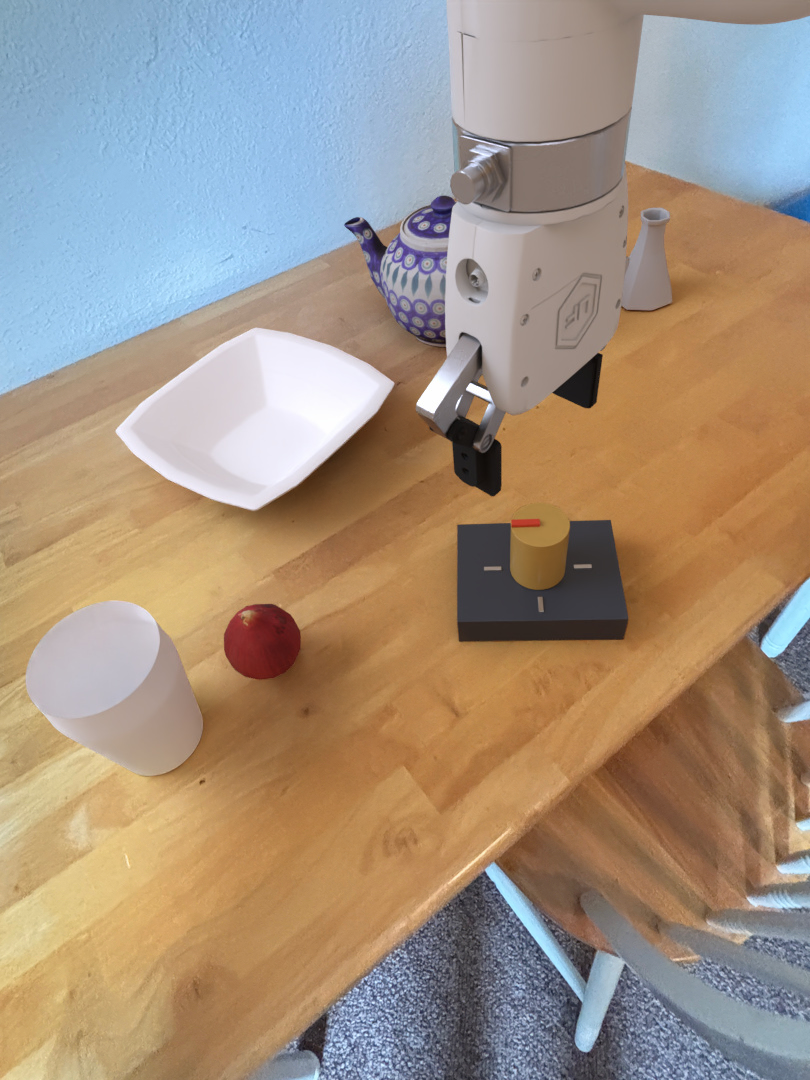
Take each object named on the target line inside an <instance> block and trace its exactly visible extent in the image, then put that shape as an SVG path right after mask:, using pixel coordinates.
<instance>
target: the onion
mask: <svg viewBox="0 0 810 1080" xmlns="http://www.w3.org/2000/svg"><path fill="white" fill-rule="evenodd" d="M301 647H302V635H301V630H300V628H299V626H298V624H297V622H296V620H295V619H294V617H293V616H292V614H290V613H289V612H287V611H286V610H285V609H283V608H282V607H280V606H278V605H276V604H275V603H254V604H251V605H247V606H245V607H243V608H242V609H240V610H238V611H237V612H236V613H235V614H234V615H233V616H232V618H231V619H230V620H229V622H228V624H227V626H226V629H225V631H224V633H223V650H224V655H225V657H226V659H227V660H228V663H229V664H230V665H231V666H230V667H232V668H233V670H235V672H237V673H239V674H240V675H241V676H243V677H244V678H248V679H253V680H257V681H265V680H272V679H277V678H278V677H280V676H282V675H285V674H286V673H287V672H288V671H289V670H290V669H291V668H292V667H293V666H294V665H295V663H296V661H297V659H298V657H299V655H300V652H301V650H302V648H301Z"/></svg>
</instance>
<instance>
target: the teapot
mask: <svg viewBox="0 0 810 1080" xmlns="http://www.w3.org/2000/svg"><path fill="white" fill-rule="evenodd" d="M456 203H457V201H455V199H454V198H453V197H451V196H450V195H439V196H437V197H435V198H434V199H432V201H431V202H430V204H427V205H424V206H421V207H419V208H417V209H415V210H413V211H411V212H410V213H409V214H408V215H407V216H406V217H404V219H403V220H402V221H401V224H400V227H399V233H398V234H396V235H395V236H394V238H393V239H392V240H391V241H390V243H389V244H388V246H386V245H385V244H384V243H383V242H382V241H381V239H380V237H379V236H378V235H377V233H376V231H375V230H374V228H373V227H372V225H371V224H370V222H368V221H367V219H365V218H364V217H361V216H355V217H353V218H350V219H348V220H347V221H346V222H345V223H344V224H343V226H344V227H345V228H346V229H347V230H348V231H350V233H352V234H353V236H354V237H355V239H357V241H358V242H359V243H358V244H359V245H360V248H361V251H362V254H363V257H364V260H365V263H366V266H367V269H368V273H369V276H370V278H371V281H372V282H373V284H374V287H376V289H377V291H378V292H379V294H380V295H381V296H382V297H383V298H384V299H385V303H386V305H387V307H388V309H389V311H390V313H391V315H392V317H393V319H394V320H395V321H396V322H397V324H398V325H399V326H400V327H401V328H402V329H404V330H405V331H407V333H409V334H411V335H412V336H414V337H415V338H416V340H418V341H419V342H420V343H423V344H425V345H428V346H431V347H432V346H433V347H440V348H446V331H445V289H446V267H447V252H448V241H449V231H450V223H451V215H452V207H453V206H454V205H455V204H456Z"/></svg>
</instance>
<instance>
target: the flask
mask: <svg viewBox="0 0 810 1080" xmlns="http://www.w3.org/2000/svg"><path fill="white" fill-rule="evenodd" d="M670 221H671V212H670V211H669V210H667V209H666V208H664V207H648V208H646V209H643V210H641V211H640V222H641V226H640V231H639V233H638V237H637V239H636V242H635V244H634V247H633V248H632V250H631V252H630V253H629V256H628V257H629V259H630V261H629V266H628V269H627V271H626V274H625V277H624V285H623V294H622V303H621V307H623V309H625V310H627V311H654V310H656V309H657V310H658V309H659V308H662V307H664V306H665V307H666V306H667V305H670V304H672V303H673V288H672V283H671V278H670V273H669V268H668V262H667V261H668V260H667V255H666V249H665V233H666V228H667V224H668V223H670Z"/></svg>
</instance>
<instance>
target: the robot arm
mask: <svg viewBox="0 0 810 1080" xmlns="http://www.w3.org/2000/svg"><path fill="white" fill-rule="evenodd" d="M445 5H446V7H445V8H446V25H447V36H448V37H447V41H448V58H449V61H448V62H449V82H450V83H449V84H450V85H449V86H450V87H449V88H450V107H451V132H452V151H453V170H454V172H453V174H452V175H451V178H450V180H449V181H450V190H451V193H452V195H453V197H454V198H455V199H454V200H456V202H457V203H456V204H455V205H454V206H453V207H452V215H451V223H450V231H449V241H448V252H447V267H446V289H445V331H446V347H445V349H446V351H445V352H446V358H445V360H444V362H443V363H442V365H441V366H440V368H439V369H438V370H437V372H436V374H435V375H434V376H433V378H432V380H431V381H430V382H429V384H428V385H427V387H426V388H425V390H424V392H423V393H422V394H421V396H420V397H419V399H418V400H417V402H416V404H415V412H416V414H417V415H418V417H420V419H421V420H422V421H423V422H424V423H425V424H426V425H427V426H428V429H429V431H431V432H433V433H435V434H437V435H439V436H440V437H442V438H444V439H446V440H448V441H449V442H451V445H452V459H453V472H454V474H455V475H456V476H457V477H458V479H459V480H460V481H461V482H462V483H464V484H466V485H467V486H469V487H472V488H473V487H474V488H476V489H477V490H480V491H482V492H483V493H485V494H487V495H489V496H491V497H496V496H497V495H498V494H499V493H500V492H501V490H502V481H503V480H502V473H503V472H502V465H503V464H502V463H503V461H502V460H503V459H502V456H503V455H502V454H503V453H502V448H503V447H502V446H503V445H502V443H501V442H500V441H499V440H498V439H496V436H497V434H498V431H499V429H500V426H501V425H502V422H503V420H504V418H505V415H506V413H507V414H509V415H510V416H519V415H522V414H524V413H526V412H529V411H530V410H532V409H534V408H535V407H537V406H538V405H539V404H541V403H542V402H543V401H544V400H545V399H547V398H548V397H549V396H550V395H551V394H552V395H555V396H558V397H559V398H561V399H564V400H566V401H568V402H570V403H573V404H575V405H577V406H579V407H582V408H583V409H591V408H592V407H594V406H595V405H596V404H597V402H598V395H599V394H598V393H599V386H600V380H601V379H600V378H601V373H602V372H601V371H602V364H603V357H604V356H603V355H604V354H602V353H600V352H602V351H604V350H605V348H606V347H607V345H608V344H609V342H610V341H611V340H612V338H613V337H614V335H615V334H616V332H617V331H618V328H619V324H620V316H621V311H622V310H621V309H622V306H621V303H622V294H623V285H624V277H625V274H626V271H627V269H628V266H629V261H630V259H629V256H627V250H628V249H627V248H628V231H629V230H628V229H629V183H628V172H627V164H626V163H627V162H626V156H627V149H628V148H627V147H628V142H629V141H628V139H629V133H630V124H631V117H632V109H633V101H634V95H635V94H634V93H635V87H636V79H637V72H638V71H637V70H638V62H639V56H640V49H641V48H640V47H641V41H642V40H641V39H642V32H643V26H644V25H643V23H644V17H645V16H653V17H655V16H656V17H667V18H677V19H685V20H695V21H704V22H712V23H722V24H730V25H731V24H732V25H755V26H756V25H757V26H758V25H759V26H760V25H761V26H763V25H774V24H780V23H787V22H793V21H797V20H801V19H804V18H808V17H810V0H445ZM480 377H482V378H483V380H484V382H485V385H484V384H482V383H481V382H479V381H480ZM475 397H476V398H478V399H481V401H485V403H488V404H487V407H486V409H485V411H484V414H483V415H482V418H481V421H480V423H479V424H478V423H476V422H475V421H473V420H471V419H468V418H466V417H467V416H468V413H469V410H470V408H471V406H472V404H473V402H474V399H475Z"/></svg>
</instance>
